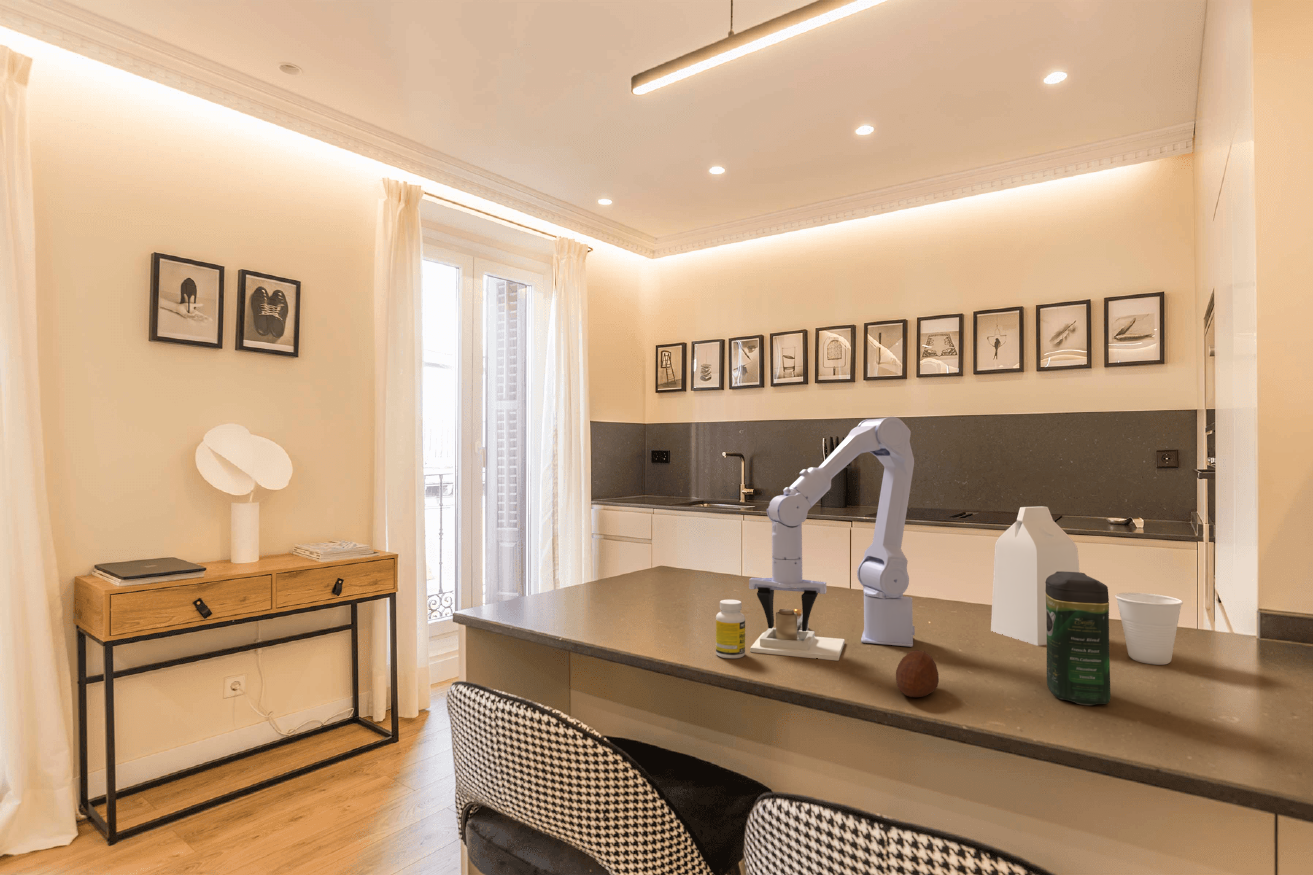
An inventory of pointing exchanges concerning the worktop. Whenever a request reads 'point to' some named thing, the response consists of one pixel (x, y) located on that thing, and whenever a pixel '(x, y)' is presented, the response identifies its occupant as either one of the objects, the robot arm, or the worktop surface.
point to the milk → (1028, 573)
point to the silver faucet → (798, 619)
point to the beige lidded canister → (786, 624)
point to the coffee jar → (1078, 638)
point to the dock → (799, 645)
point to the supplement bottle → (730, 630)
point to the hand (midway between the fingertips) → (787, 628)
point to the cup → (1149, 625)
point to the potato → (917, 674)
